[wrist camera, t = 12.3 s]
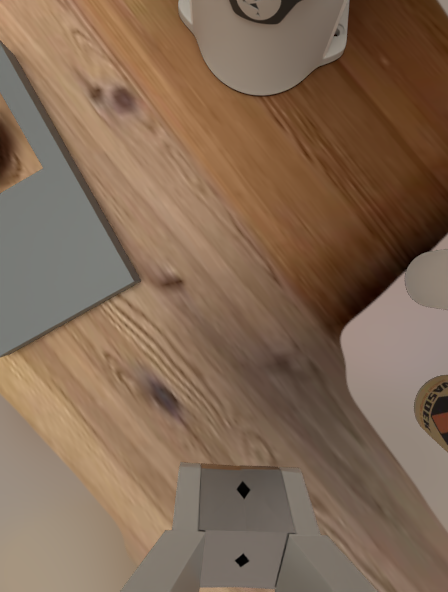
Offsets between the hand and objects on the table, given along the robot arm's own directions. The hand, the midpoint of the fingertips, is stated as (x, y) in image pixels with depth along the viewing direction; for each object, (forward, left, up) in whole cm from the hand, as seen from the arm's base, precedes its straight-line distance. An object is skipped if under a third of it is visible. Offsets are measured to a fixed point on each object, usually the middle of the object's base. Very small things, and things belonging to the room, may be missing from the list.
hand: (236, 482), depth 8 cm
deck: (-7, -27, -30) cm, 41 cm away
